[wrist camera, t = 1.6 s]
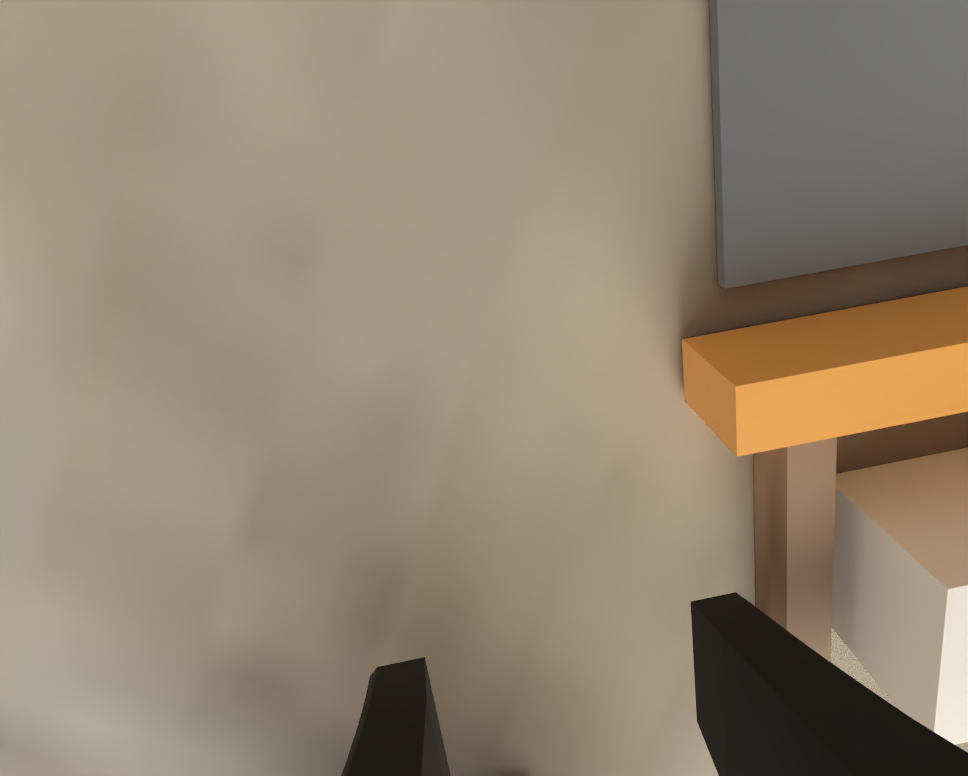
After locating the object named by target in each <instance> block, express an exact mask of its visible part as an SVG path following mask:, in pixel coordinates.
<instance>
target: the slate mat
mask: <svg viewBox="0 0 968 776" xmlns="http://www.w3.org/2000/svg"><path fill="white" fill-rule="evenodd" d="M709 9H710V42H711V74H712V106H713V139H714V171H715V204H716V236H717V268H718V285H720V286H721V287H723V288H724V289H728V288H733V287H739V286H744V285H750V284H755V283H761V282H767V281H772V280H778V279H783V278H789V277H794V276H800V275H805V274H811V273H816V272H822V271H827V270H833V269H838V268H844V267H849V266H855V265H860V264H866V263H872V262H877V261H883V260H888V259H894V258H899V257H905V256H910V255H916V254H921V253H927V252H932V251H938V250H943V249H949V248H954V247H960V246H965V245H968V0H709Z"/></svg>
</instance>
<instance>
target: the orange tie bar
mask: <svg viewBox="0 0 968 776" xmlns="http://www.w3.org/2000/svg"><path fill="white" fill-rule="evenodd" d="M682 354H683V374H684V394H685V402H686V403H687V404H688V405H689V406H690V407H691V408H692V409H693V410H694V411H695V412H696V413H697V415H698V416H699V417H700V418H701V419H702V420H703V421H704V422H705V423H706V424H707V425H708V426H709V427H710V428H711V429H712V431H713V432H714V433H715V434H716V435H717V436H718V437H719V438H720V439H721V440H722V441H723V442H724V443H725V444H726V445H727V447H728V448H729V449H730V450H731V451H732V452H733V453H734V454H735V455H736V456H737V457H738V456H743V455H749V454H754V453H759V452H764V451H769V450H774V449H779V448H784V447H789V446H794V445H800V444H805V443H810V442H815V441H820V440H825V439H830V438H835V437H840V436H845V435H850V434H856V433H861V432H866V431H871V430H876V429H881V428H886V427H891V426H896V425H901V424H906V423H912V422H917V421H922V420H927V419H932V418H937V417H942V416H947V415H952V414H957V413H962V412H968V286H967V287H962V288H956V289H951V290H945V291H940V292H935V293H929V294H924V295H918V296H913V297H908V298H902V299H897V300H891V301H886V302H881V303H875V304H870V305H864V306H859V307H853V308H848V309H843V310H837V311H832V312H826V313H821V314H816V315H810V316H805V317H799V318H794V319H789V320H783V321H778V322H772V323H767V324H761V325H756V326H751V327H745V328H740V329H734V330H729V331H724V332H718V333H713V334H707V335H702V336H697V337H691V338H686V339H682Z"/></svg>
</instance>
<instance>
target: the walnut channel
mask: <svg viewBox="0 0 968 776" xmlns="http://www.w3.org/2000/svg"><path fill="white" fill-rule="evenodd" d="M836 459H837V437H835V438H830V439H825V440H820V441H815V442H810V443H805V444H800V445H794V446H789V447H784V448H779V449H774V450H769V451H764V452H759V453H754V519H755V588H756V607H757V608H758V609H759V610H761V611H762V612H763V613H765V614H766V615H767V616H769V617H770V618H771V619H773V620H774V621H775V622H777V623H778V624H779V625H781V626H782V627H783V628H785V629H786V630H787V631H789V632H790V633H791V634H793V635H794V636H795V637H797V638H798V639H799V640H801V641H802V642H803V643H805V644H806V645H807V646H809V647H810V648H812V649H813V650H814V651H816V652H817V653H818V654H820V655H821V656H822V657H824V658H825V659H827V660H828V661H829V662H830V654H831V622H832V589H833V557H834V524H835V491H836Z"/></svg>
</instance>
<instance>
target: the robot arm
mask: <svg viewBox="0 0 968 776" xmlns="http://www.w3.org/2000/svg"><path fill="white" fill-rule="evenodd" d="M691 615H692V634H693V653H694V672H695V691H696V710H697V722H698V724H699V727H700V729H701V732H702V735H703V737H704V740H705V742H706V745H707V747H708V750H709V752H710V755H711V757H712V760H713V762H714V765H715V767H716V769H717V772H718V774H719V776H968V753H967V752H966V751H964V750H962V749H961V748H959V747H957V746H956V745H954V744H953V743H951V742H949V741H948V740H946V739H945V738H943V737H941V736H940V735H938V734H936V733H935V732H933V731H932V730H930V729H928V728H927V727H925V726H924V725H922V724H920V723H919V722H917V721H916V720H914V719H912V718H911V717H909V716H908V715H906V714H905V713H903V712H902V711H900V710H899V709H897V708H896V707H894V706H893V705H891V704H890V703H888V702H887V701H885V700H884V699H882V698H881V697H879V696H878V695H877V694H875V693H874V692H872V691H871V690H869V689H868V688H866V687H865V686H864V685H862V684H861V683H859V682H858V681H856V680H855V679H853V678H852V677H851V676H849V675H848V674H846V673H845V672H843V671H842V670H840V669H839V668H838V667H836V666H835V665H834V664H832V663H831V662H829V661H828V660H827V659H825V658H824V657H822V656H821V655H820V654H818V653H817V652H816V651H814V650H813V649H812V648H810V647H809V646H807V645H806V644H805V643H803V642H802V641H801V640H799V639H798V638H797V637H795V636H794V635H793V634H791V633H790V632H789V631H787V630H786V629H785V628H783V627H782V626H781V625H779V624H778V623H777V622H775V621H774V620H773V619H771V618H770V617H769V616H767V615H766V614H765V613H763V612H762V611H761V610H759V609H758V608H757V607H755V606H754V605H753V604H751V603H750V602H748V601H747V600H746V599H744V598H743V597H742V596H740V595H739V594H737V593H731V594H726V595H721V596H716V597H712V598H707V599H702V600H697V601H692V602H691ZM341 776H450V772H449V767H448V762H447V758H446V753H445V749H444V744H443V739H442V735H441V730H440V726H439V721H438V716H437V712H436V707H435V703H434V698H433V693H432V689H431V684H430V679H429V675H428V670H427V666H426V661H425V657H424V658H419V659H414V660H410V661H405V662H400V663H395V664H390V665H386V666H381V667H377V668H376V670H375V671H374V672H373V673H372V675H371V676H370V680H369V685H368V690H367V694H366V698H365V702H364V706H363V710H362V714H361V717H360V721H359V724H358V727H357V731H356V734H355V737H354V740H353V743H352V746H351V749H350V752H349V756H348V759H347V762H346V764H345V767H344V770H343V772H342V775H341Z"/></svg>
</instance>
